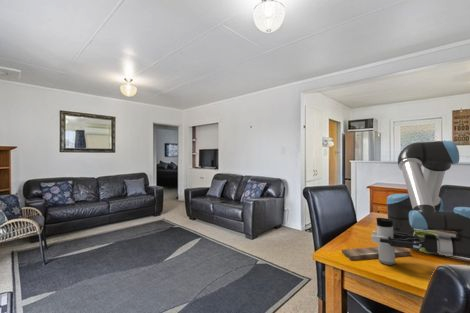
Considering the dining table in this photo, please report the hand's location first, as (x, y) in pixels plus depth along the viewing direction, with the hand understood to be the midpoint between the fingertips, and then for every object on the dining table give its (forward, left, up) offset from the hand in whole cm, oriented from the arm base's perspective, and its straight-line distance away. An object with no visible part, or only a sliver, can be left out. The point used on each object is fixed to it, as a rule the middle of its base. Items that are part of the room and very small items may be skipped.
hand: (372, 236), depth 109 cm
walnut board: (-5, -6, -11) cm, 14 cm away
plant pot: (-31, -5, -12) cm, 33 cm away
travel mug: (-4, +3, -11) cm, 12 cm away
